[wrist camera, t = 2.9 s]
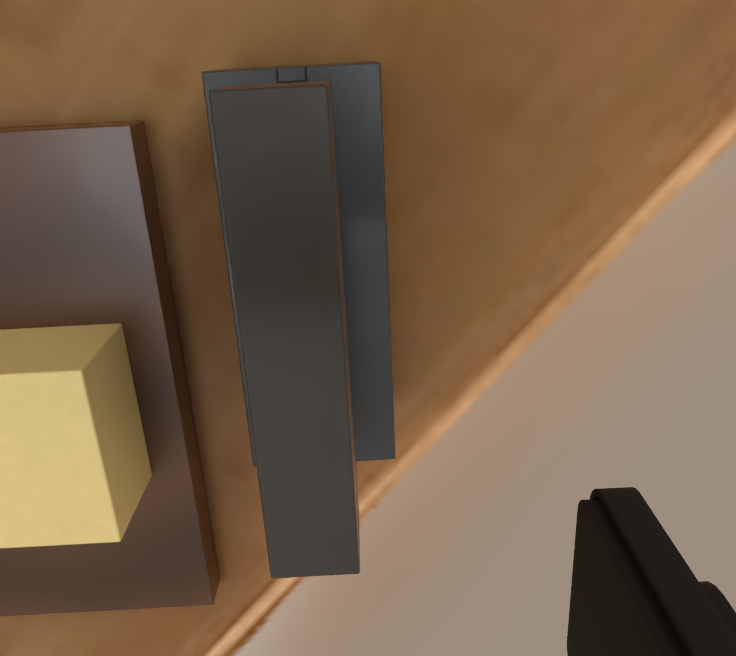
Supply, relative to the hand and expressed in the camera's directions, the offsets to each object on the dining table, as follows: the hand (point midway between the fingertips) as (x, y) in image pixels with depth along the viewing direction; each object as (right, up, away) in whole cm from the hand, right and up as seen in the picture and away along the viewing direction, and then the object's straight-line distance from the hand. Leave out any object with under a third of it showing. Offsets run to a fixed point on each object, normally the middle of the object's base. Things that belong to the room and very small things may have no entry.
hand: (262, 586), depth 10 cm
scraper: (0, +6, +15) cm, 17 cm away
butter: (-11, +1, +16) cm, 19 cm away
